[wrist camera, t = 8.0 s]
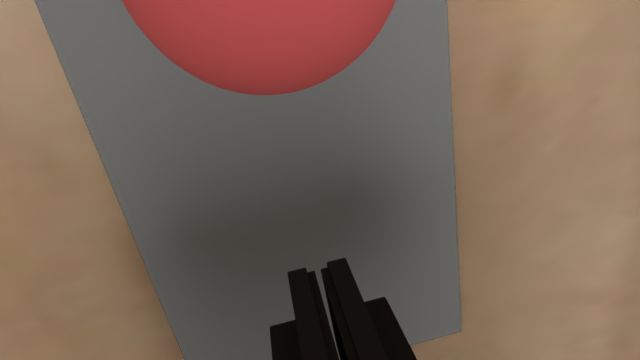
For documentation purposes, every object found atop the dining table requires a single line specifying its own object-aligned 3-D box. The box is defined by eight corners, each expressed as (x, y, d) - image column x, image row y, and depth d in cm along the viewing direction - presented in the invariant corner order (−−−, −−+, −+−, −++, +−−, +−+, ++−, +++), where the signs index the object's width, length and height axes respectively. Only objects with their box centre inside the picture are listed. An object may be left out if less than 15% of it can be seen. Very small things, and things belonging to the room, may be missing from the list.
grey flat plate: (459, 327, 18) (461, 331, 18) (202, 397, 18) (201, 401, 17) (416, -600, 8) (420, -612, 8) (-193, -554, 7) (-203, -568, 7)
